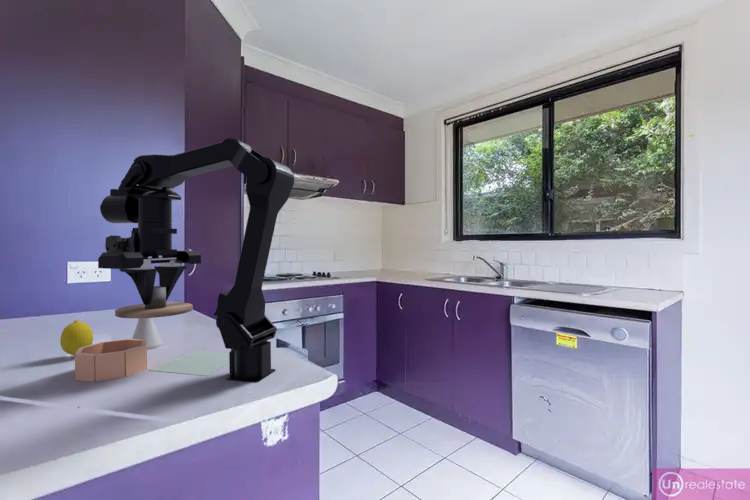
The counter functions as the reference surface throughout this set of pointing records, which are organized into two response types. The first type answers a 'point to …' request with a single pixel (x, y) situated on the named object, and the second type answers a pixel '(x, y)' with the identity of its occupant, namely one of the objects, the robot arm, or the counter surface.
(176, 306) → the lid
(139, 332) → the flask
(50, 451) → the counter surface
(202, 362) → the mat
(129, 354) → the bowl
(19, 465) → the counter surface
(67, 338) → the lemon
